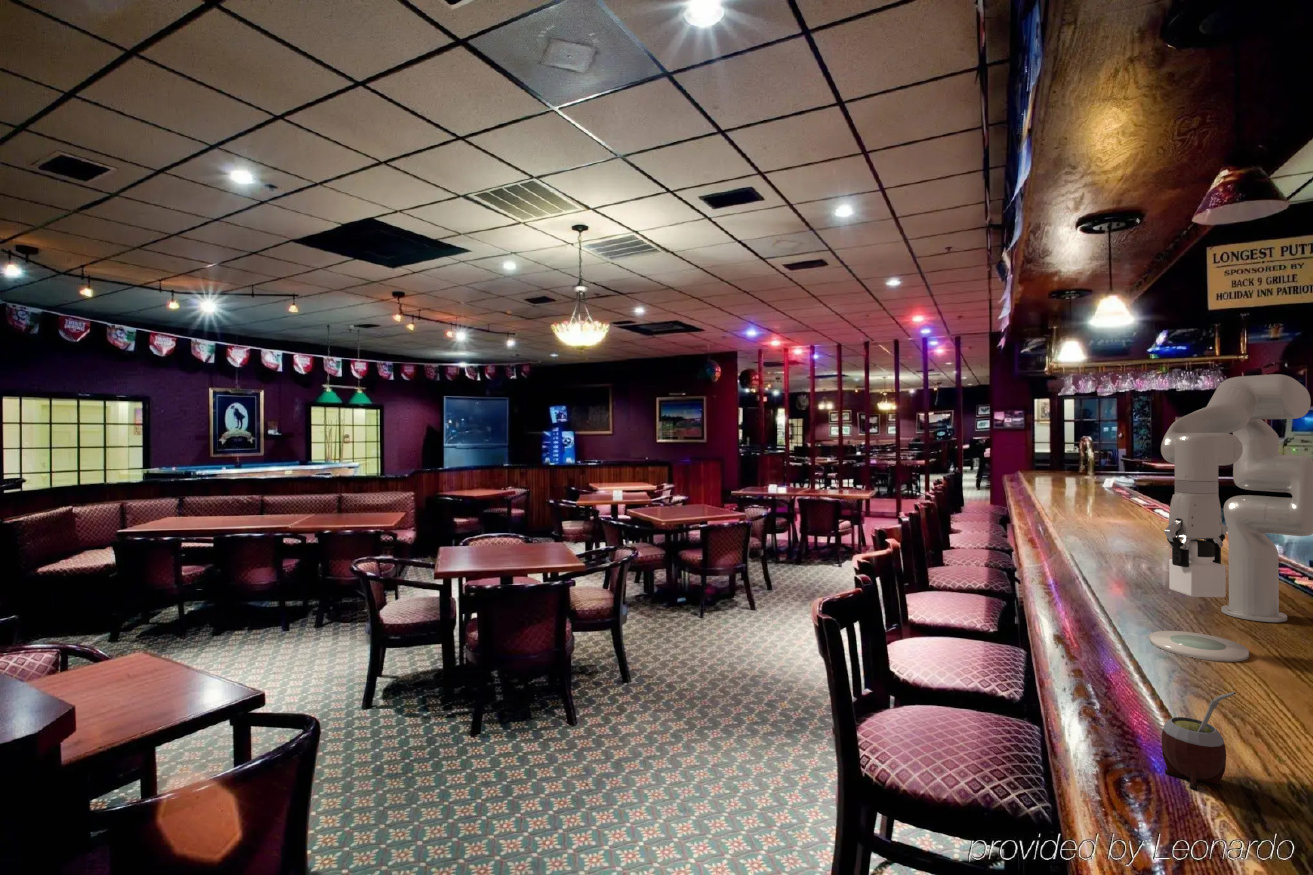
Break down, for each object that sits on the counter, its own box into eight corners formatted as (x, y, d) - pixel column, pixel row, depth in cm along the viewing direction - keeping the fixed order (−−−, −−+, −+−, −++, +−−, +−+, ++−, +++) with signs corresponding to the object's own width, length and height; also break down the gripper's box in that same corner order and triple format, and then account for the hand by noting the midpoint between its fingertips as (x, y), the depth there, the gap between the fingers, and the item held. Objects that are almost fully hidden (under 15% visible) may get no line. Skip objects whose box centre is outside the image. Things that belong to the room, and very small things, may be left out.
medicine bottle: (1201, 589, 145) (1201, 537, 145) (1226, 597, 138) (1226, 543, 138) (1168, 589, 146) (1168, 537, 146) (1191, 597, 139) (1191, 543, 139)
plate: (1153, 631, 155) (1153, 625, 155) (1248, 646, 143) (1248, 640, 143) (1146, 649, 142) (1146, 643, 142) (1249, 667, 131) (1249, 661, 131)
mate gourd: (1162, 762, 95) (1161, 663, 95) (1232, 780, 90) (1232, 675, 90) (1161, 784, 89) (1160, 678, 89) (1236, 804, 84) (1236, 693, 84)
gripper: (1207, 486, 148) (1207, 559, 148) (1149, 488, 144) (1149, 563, 144) (1244, 488, 141) (1244, 566, 141) (1183, 491, 136) (1184, 570, 137)
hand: (1196, 564), depth 142 cm, fingers closed on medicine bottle, 8 cm apart
